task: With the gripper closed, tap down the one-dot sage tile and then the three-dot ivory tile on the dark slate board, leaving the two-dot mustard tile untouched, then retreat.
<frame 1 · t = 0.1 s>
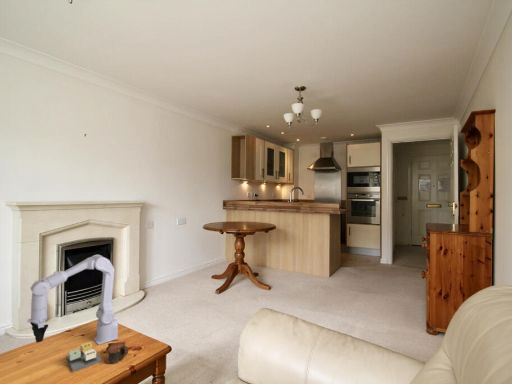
hand: (38, 338, 125), 10 cm above the table, fingers open, 7 cm apart
slate board: (83, 360, 126), on the table
tile one sage: (74, 354, 124), point 4 cm above the table, slide at 0.0 cm
pottery mug: (117, 358, 128), on the table
tile three ivory: (89, 354, 124), point 4 cm above the table, slide at 0.0 cm
tile two mustard: (86, 346, 130), point 4 cm above the table, slide at 0.0 cm
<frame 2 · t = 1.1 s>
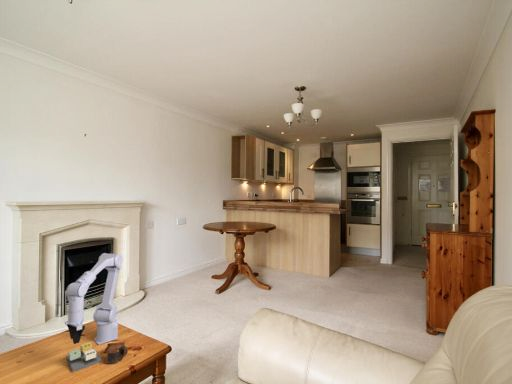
hand: (75, 340, 124), 10 cm above the table, fingers open, 5 cm apart
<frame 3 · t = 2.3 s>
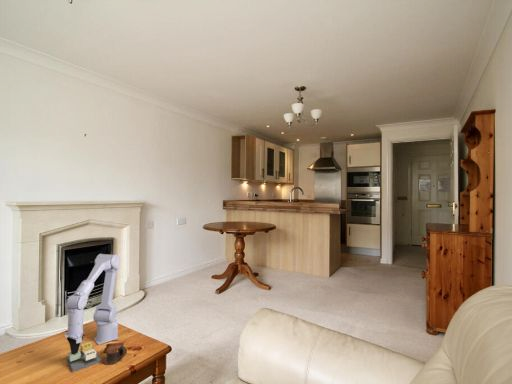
hand: (74, 353, 124), 4 cm above the table, fingers closed, pressing on tile one sage
tile one sage: (74, 355, 124), point 3 cm above the table, slide at 0.4 cm, touching gripper
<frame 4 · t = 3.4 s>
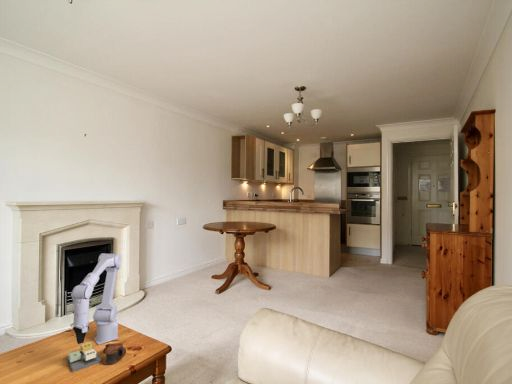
hand: (80, 342, 124), 9 cm above the table, fingers closed
tile one sage: (74, 356, 124), point 3 cm above the table, slide at 0.8 cm
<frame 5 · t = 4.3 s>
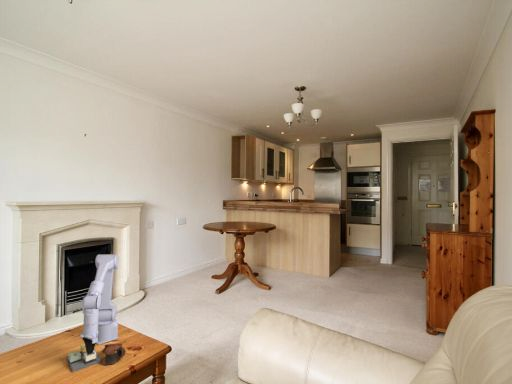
hand: (89, 353, 124), 4 cm above the table, fingers closed, pressing on tile three ivory
tile three ivory: (89, 355, 124), point 3 cm above the table, slide at 0.4 cm, touching gripper
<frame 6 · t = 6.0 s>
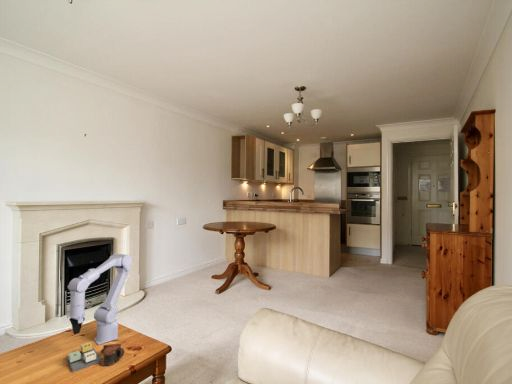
hand: (76, 333, 131), 10 cm above the table, fingers closed
tile three ivory: (89, 356, 124), point 3 cm above the table, slide at 0.8 cm
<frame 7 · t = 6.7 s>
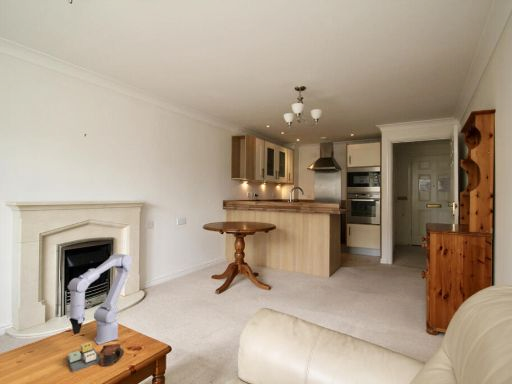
hand: (76, 333, 131), 10 cm above the table, fingers closed
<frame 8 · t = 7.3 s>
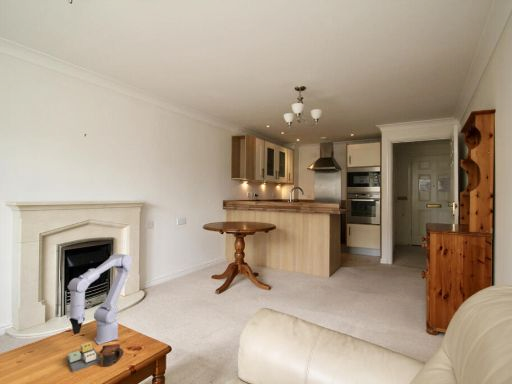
hand: (76, 333, 131), 10 cm above the table, fingers closed
at the end: tile one sage slide at 0.8 cm; tile three ivory slide at 0.8 cm; tile two mustard slide at 0.0 cm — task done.
